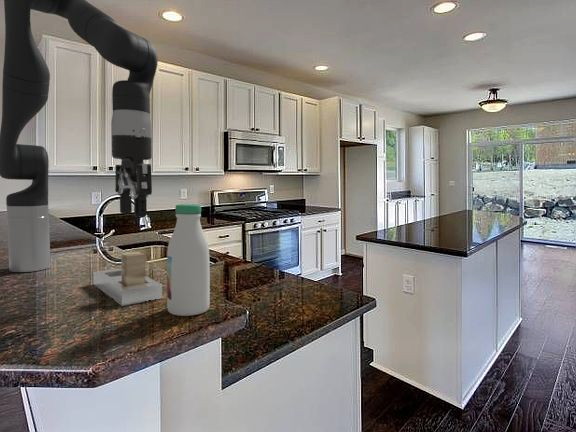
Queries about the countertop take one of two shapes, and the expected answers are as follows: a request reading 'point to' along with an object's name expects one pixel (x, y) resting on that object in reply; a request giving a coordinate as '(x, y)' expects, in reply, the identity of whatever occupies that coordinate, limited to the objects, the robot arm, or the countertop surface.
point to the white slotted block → (126, 288)
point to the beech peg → (133, 269)
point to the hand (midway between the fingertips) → (132, 215)
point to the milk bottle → (188, 264)
